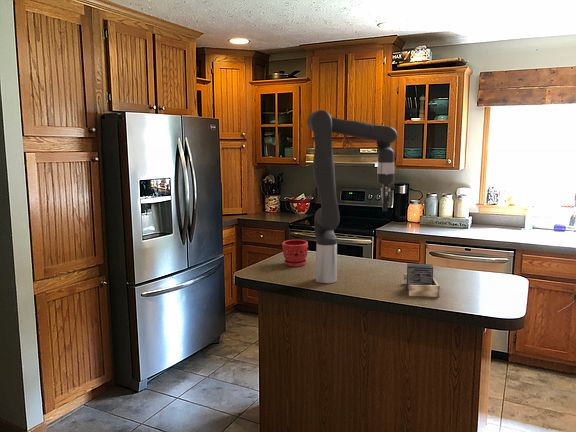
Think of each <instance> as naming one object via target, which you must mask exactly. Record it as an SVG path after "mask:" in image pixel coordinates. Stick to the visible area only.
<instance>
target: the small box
mask: <svg viewBox="0 0 576 432" xmlns="http://www.w3.org/2000/svg"><path fill="white" fill-rule="evenodd" d="M406 265H407V266H406V274H407V284H406V291H408V292H409V285H433V277H434V265H433V264H430V263H429V264H426V263H406Z"/></svg>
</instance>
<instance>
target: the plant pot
mask: <svg viewBox="0 0 576 432" xmlns="http://www.w3.org/2000/svg"><path fill="white" fill-rule="evenodd" d="M281 245H282V246H281V247H282V254H283V257H284V261H283V262H284V264H285V265H286V266H288V265H289V266H288V267H302V265H303V266H305V265H306V264H307V261H308V260H307V256H308V252H309V243H308V241H307V240H303V239H288V240H285V241H283V242H282V244H281Z"/></svg>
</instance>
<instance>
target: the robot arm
mask: <svg viewBox="0 0 576 432" xmlns="http://www.w3.org/2000/svg"><path fill="white" fill-rule="evenodd" d="M306 123H307V126H308V129H310V130H311V131H312V132H313V136H314V137H313V138H314V152H313V159H312V169H313V170H312V171H313V179H314V182H315V183H314V184H315V186H316V189H317V191H318V194H319V198H320V206H321V207H319V208H318V209H317V210H316V211H315V214H314V219H313V220H314V222H313V223H314V237H315V241H316V248H315V249H316V250H315V252H316V253H315V254H316V257H315V259H316V260H315V283H321V284H333V283H336V282H337V279H338V272H337V271H338V270H337V269H338V267H337V266H338V237H337V235H336V234H335V229H336V228H338V226H339V225H340V221H341V219H340V218H341V217H340V210H339V205H338V199H337V184H336V170H335V162H334V151H333V142H332V141H333V140H332V138H333V136H332V135H333V133H334V134H339V135H344V136H348V137H353V138H358V139H361V140H362V139H363V140H368V141H376V146H377V147H376V148H377V151H378V152H377V153H378V154H377V167H376V169H377V175H376V177H377V179H376V183H377V184H381V185H382V186H381V187H380V192H381V195H380V196H381V197H380V198H381V202H382V205H381V206H382V209H381V210H382V212H388V206H389V201H390V194H391V187H389V186H390V184H394V183H395V169H396V167H395V151H394V149H392V144H393V143H394V142H395V141H396V140H397V138H398V132H397V130H396V129H395V128H394V127H392V126H387V125H377V124H376V125H375V124H373V123H369V122H363V121H359V120H349V119H342V118H336V117H333V116H332V115H331V114H330V113H329V112H328V111H326V110H324V109H319V110H316V111H313V112H311V113H310V114H309V115H308V117H307V119H306Z"/></svg>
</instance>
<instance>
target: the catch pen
mask: <svg viewBox="0 0 576 432" xmlns="http://www.w3.org/2000/svg"><path fill="white" fill-rule="evenodd" d="M403 285H407V273H403ZM440 290H441V289H440V285H439V283H438V282H437V279H436V278H434V276H433V285H409V291H408V296H409V297H430V298H431V297H433V298H434V297H436V298H437V297H438V298H439V297H440Z"/></svg>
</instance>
